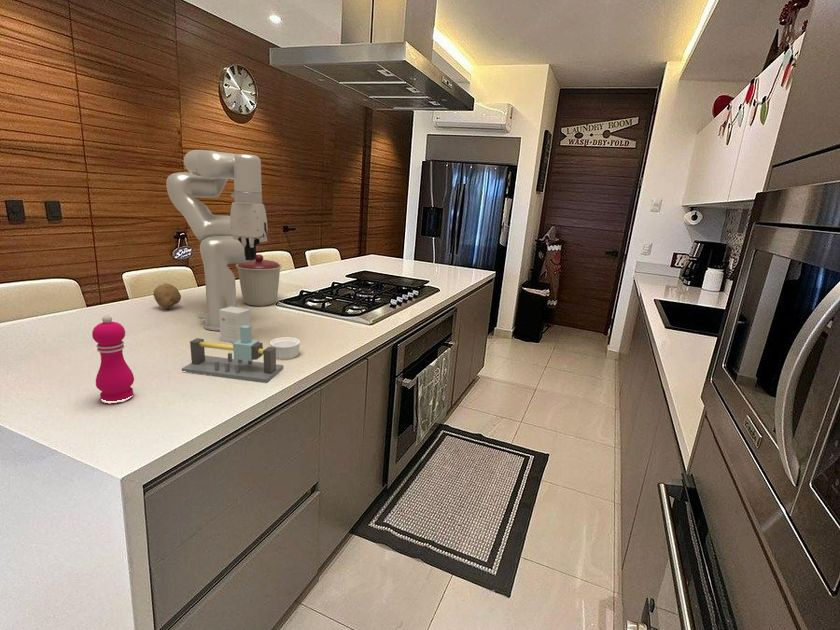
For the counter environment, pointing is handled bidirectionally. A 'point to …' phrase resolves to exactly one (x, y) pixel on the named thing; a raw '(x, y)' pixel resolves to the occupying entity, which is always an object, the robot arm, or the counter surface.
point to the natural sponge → (166, 295)
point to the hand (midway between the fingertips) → (250, 259)
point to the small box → (233, 322)
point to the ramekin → (286, 347)
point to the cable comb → (233, 362)
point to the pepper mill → (112, 361)
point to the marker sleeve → (244, 344)
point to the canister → (259, 281)
